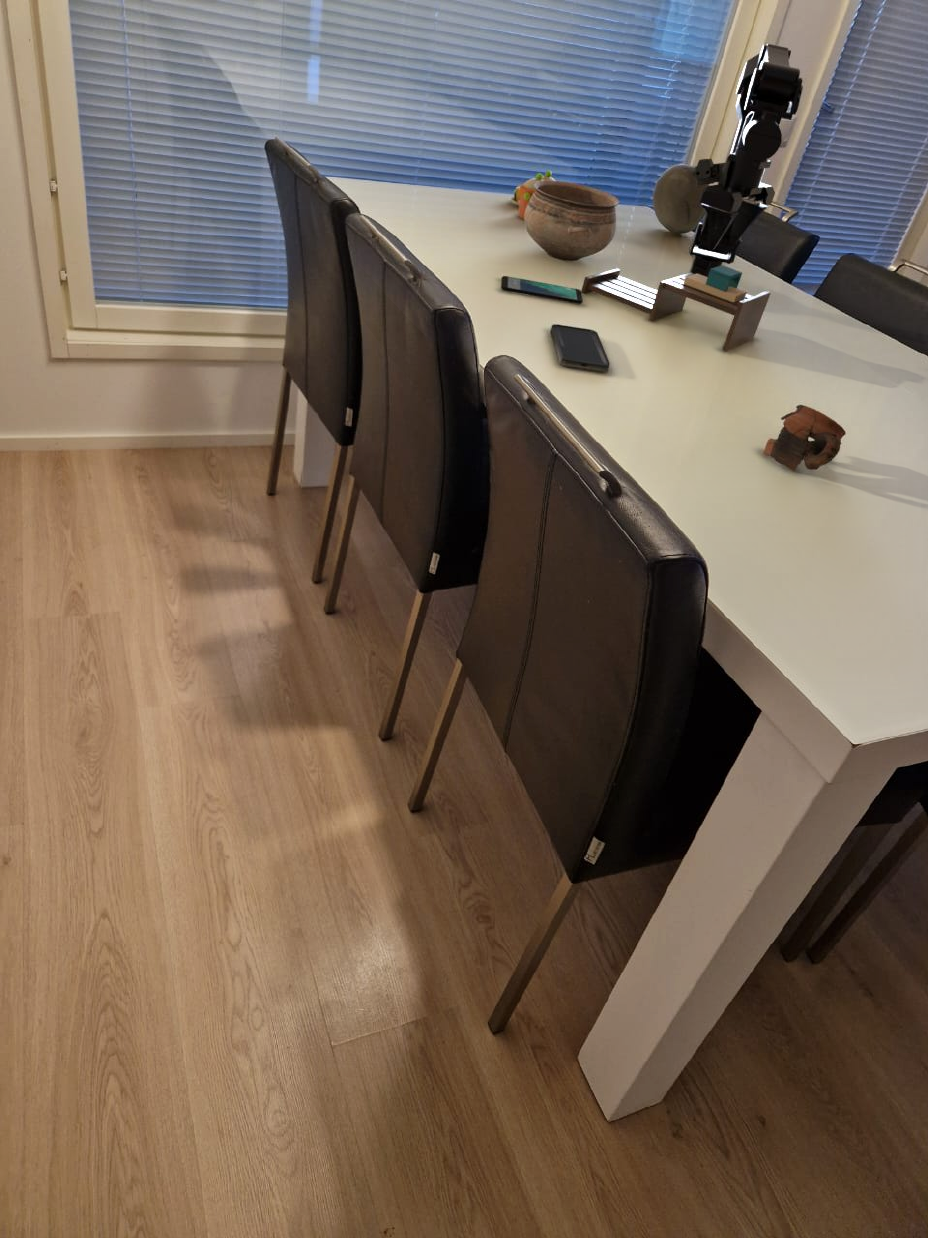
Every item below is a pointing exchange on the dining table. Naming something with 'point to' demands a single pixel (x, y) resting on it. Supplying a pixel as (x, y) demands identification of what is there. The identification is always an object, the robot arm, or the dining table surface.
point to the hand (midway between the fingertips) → (721, 245)
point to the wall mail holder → (719, 283)
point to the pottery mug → (806, 439)
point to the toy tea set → (527, 192)
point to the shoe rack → (680, 302)
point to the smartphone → (541, 289)
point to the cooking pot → (570, 219)
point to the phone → (579, 348)
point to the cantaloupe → (678, 199)
